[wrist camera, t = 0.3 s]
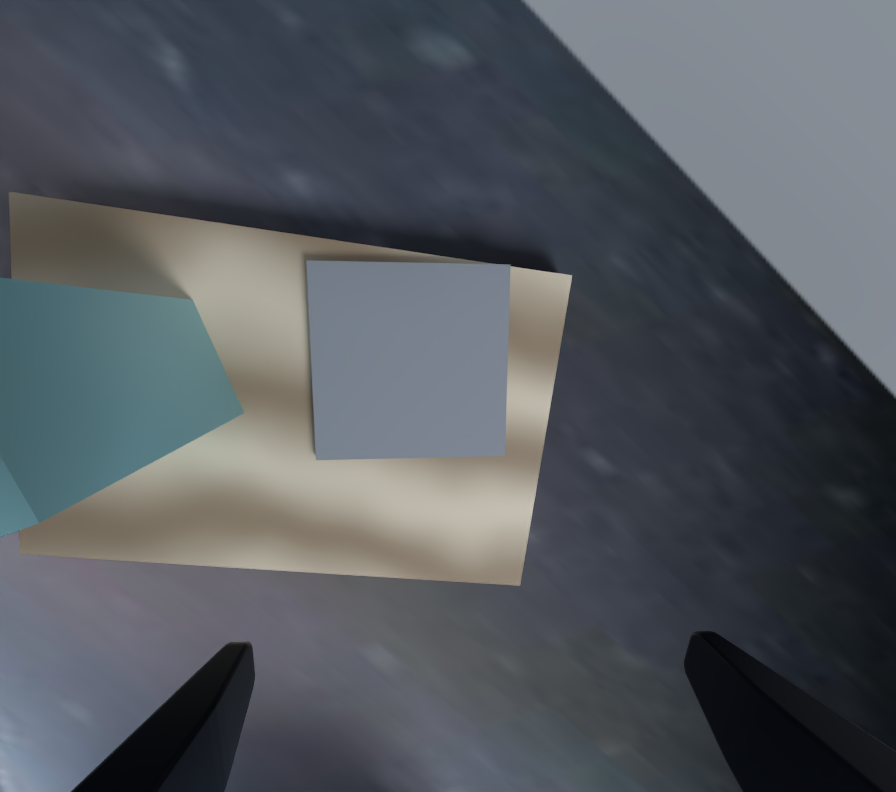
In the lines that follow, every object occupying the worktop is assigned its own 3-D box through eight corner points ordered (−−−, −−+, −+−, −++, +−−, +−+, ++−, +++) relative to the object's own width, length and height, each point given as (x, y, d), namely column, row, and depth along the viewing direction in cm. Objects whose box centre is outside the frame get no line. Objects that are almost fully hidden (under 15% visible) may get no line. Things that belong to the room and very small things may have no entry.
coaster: (503, 453, 21) (504, 455, 21) (317, 457, 20) (316, 460, 20) (508, 265, 19) (510, 264, 19) (308, 261, 19) (306, 260, 18)
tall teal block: (244, 412, 19) (39, 522, 9) (131, 453, 19) (-220, 616, 8) (192, 299, 18) (-113, 264, 8) (73, 341, 18) (-410, 365, 7)
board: (513, 569, 24) (527, 604, 21) (47, 538, 21) (-12, 572, 18) (560, 278, 21) (585, 271, 18) (40, 202, 19) (-29, 178, 16)
